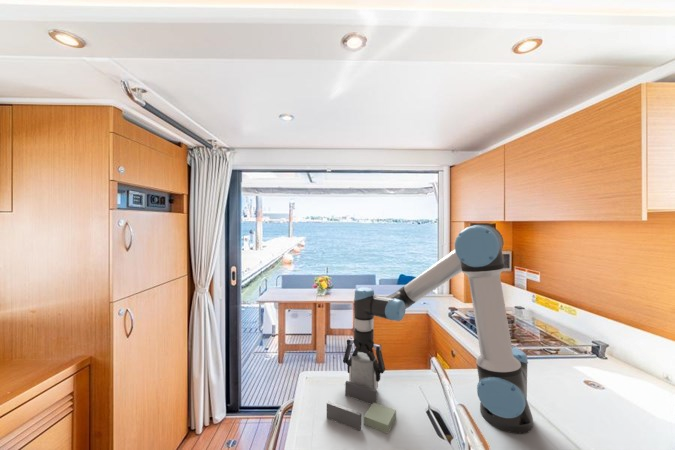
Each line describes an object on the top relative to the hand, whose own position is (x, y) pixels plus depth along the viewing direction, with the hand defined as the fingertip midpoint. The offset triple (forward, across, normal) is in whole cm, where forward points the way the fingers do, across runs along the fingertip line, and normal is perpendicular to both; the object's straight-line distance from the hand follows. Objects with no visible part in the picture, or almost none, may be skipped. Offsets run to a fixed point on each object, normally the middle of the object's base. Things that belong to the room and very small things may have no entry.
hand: (363, 384), depth 111 cm
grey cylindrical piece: (+1, 0, 0) cm, 1 cm away
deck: (+1, -12, +14) cm, 18 cm away
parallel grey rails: (+1, -2, +14) cm, 14 cm away
